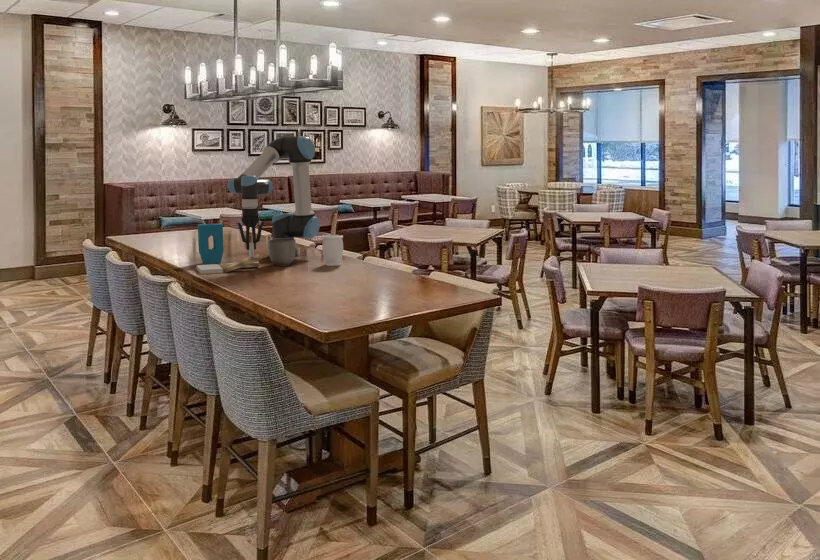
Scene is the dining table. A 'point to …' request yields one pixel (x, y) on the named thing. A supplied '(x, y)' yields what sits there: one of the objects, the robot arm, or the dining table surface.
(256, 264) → the plank
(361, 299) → the dining table surface
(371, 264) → the dining table surface
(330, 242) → the jar
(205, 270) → the floor board
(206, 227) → the block
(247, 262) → the plank
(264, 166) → the robot arm
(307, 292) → the dining table surface
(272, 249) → the planter
